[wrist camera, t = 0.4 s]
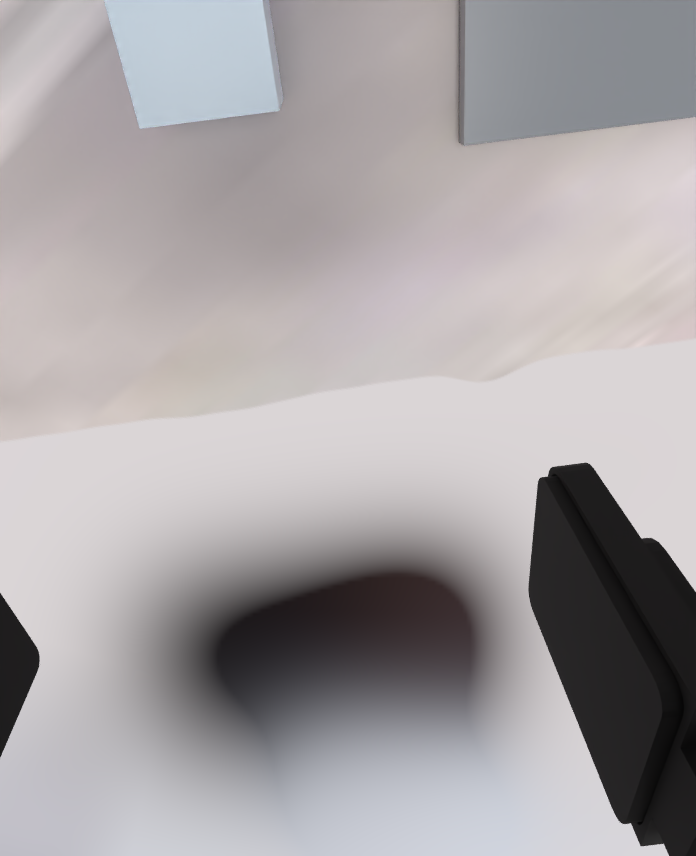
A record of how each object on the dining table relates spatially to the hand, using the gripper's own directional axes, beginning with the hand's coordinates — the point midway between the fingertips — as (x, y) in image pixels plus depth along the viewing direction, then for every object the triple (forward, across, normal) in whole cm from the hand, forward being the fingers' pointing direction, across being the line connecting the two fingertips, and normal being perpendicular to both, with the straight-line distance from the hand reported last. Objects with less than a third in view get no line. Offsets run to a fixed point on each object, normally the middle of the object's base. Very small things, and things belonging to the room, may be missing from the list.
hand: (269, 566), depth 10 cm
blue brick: (+27, +3, -9) cm, 29 cm away
